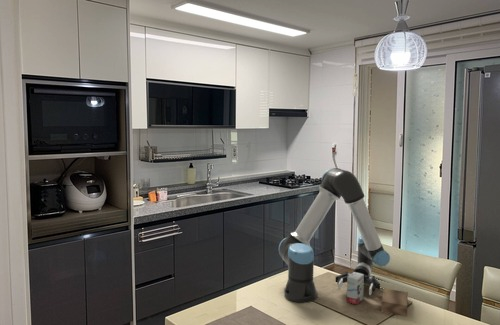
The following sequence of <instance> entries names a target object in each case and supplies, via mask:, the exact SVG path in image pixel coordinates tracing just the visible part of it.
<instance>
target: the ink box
mask: <svg viewBox="0 0 500 325" xmlns="http://www.w3.org/2000/svg"><path fill="white" fill-rule="evenodd" d="M349 274H350V275H349V276H348V277H347V282H346V283H347V284H346V303H348V302H349V304H351V303H352V305H355V304H356V306H357V305H358V304H359V303H360V302H361V301H362V300H363V299H364V289H365V288H364V285H365V284H364V274H361V273H357V272H354V271H353V272H352V273H349Z"/></svg>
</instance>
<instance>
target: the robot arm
mask: <svg viewBox="0 0 500 325" xmlns="http://www.w3.org/2000/svg"><path fill="white" fill-rule="evenodd" d="M318 188H319V189H318V190H319V191H318V192H319V193H318V194H317V195H316V197H315V199H314V200H313V202H312V203H311V205H310V206H309V208H308V209H307V212H306V213H305V214H304V216H303V218H302V219H301V221H300V223H299V224H298V226H297V228H296V229H295V230H294V231H292V232H290V233H289V234H288V236H287V237H285V238H283V239H282V240H281V241H280V242H279V245H278V254H279V256H280V258H281V260H282V261H283V262H285V265H287V267H288V268H287V269H288V270H287V272H288V273H287V281H286V284H285V287H284V291H283V292H284V293H283V294H284V297H285V298H286V299H287V300H289V301H291V302H294V303H299V304H300V303H302V304H303V303H310V302H314V301H315V300H316V299H317V298H318V291H317V288H316V284H315V282H314V269H315V268H314V264H315V262H314V260H315V254H314V249H313V248H312V246H311V244H310V242H311V239H312V237H314V235H315V233H316V231H317V229H318V228H319V226H320V225H321V223H323V221H324V219H325V217H326V216H327V213H328V212H329V211H330V209H331V207H332V206H333V204H334V202H335V201H338V200H340V199H341V197H342V199H343V201H344V203H345V204H347V205H348V207H349V210H350V212H351V214H352V217H353V219H354V222H355V224H356V227H357V229H358V231H359V233H360V236H359V237H358V240H357V263H356V266H355V268H354V269H353V272H357V273H361V274H364V285H366V286H368V287H369V289H368V295H369V296H371V295H372V293H373V292H375V291H376V289H377V290H381V283H380V282H379V281H378V280H377V278H376V277H375V275H372V276H371V277H370V275H371V272H372V271H373V269H374V265H378V266H379V267H385V266H387V265H388V264H389V263H390V260H391V256H390V253H388V252H387V251H386V250H385V249H384V247H383V245H382V241H381V239H380V237H379V234H378V231H377V229H376V227H375V224H374V221H373V219H372V217H371V214H370V212H369V209H368V207H367V204H366V202H365V200H364V198H365V193H364V191H363V189H362V186H361V184H360V182H359V180H358V178H357V177H356V175H354V173H352V172H351V171H349V170H345V169H342V168H338V167H333V168H332V167H331V168H329V169H327V170H326V171H324V172H323V174H322V176H321V183H320V185H319V186H318ZM350 274H351V273H349V272H348V271H345V272H344V273H342V274H338V275H336V276H335V283H337V289H338V290H341V288H342V287H343V284H345V283H347V277H348V276H349V275H350Z"/></svg>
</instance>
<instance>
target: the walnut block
mask: <svg viewBox="0 0 500 325" xmlns="http://www.w3.org/2000/svg"><path fill="white" fill-rule="evenodd" d="M408 294H409V293H408V291H403V290H402V291H401V290H395V289H389V288H384V289H383V293H382V299H381V312H382V311H383V312H382V313H386V312H387V314H391V313H392V314H393V315H398V316H403V317H408V316H407V315H408V297H409V296H408Z"/></svg>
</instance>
